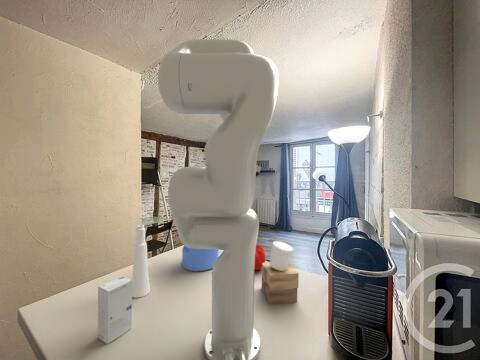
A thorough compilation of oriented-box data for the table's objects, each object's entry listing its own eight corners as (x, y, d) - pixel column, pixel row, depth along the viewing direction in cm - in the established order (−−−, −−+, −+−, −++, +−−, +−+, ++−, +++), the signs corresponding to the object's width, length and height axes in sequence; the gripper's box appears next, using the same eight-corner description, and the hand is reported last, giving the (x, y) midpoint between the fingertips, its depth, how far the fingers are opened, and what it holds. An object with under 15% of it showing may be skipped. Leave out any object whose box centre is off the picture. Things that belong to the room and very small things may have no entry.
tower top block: (298, 287, 62) (298, 273, 62) (270, 290, 61) (270, 275, 61) (286, 273, 71) (286, 261, 71) (261, 275, 70) (261, 262, 70)
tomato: (249, 276, 78) (249, 253, 78) (235, 264, 88) (235, 243, 88) (271, 271, 83) (272, 249, 82) (256, 260, 93) (256, 240, 93)
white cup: (292, 271, 64) (298, 251, 64) (274, 272, 62) (280, 250, 61) (280, 259, 71) (285, 241, 70) (263, 259, 68) (268, 240, 67)
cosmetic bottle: (144, 285, 71) (144, 222, 70) (154, 291, 67) (154, 225, 67) (126, 293, 66) (126, 225, 65) (136, 300, 62) (136, 228, 62)
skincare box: (107, 345, 46) (107, 292, 46) (96, 337, 48) (96, 286, 48) (133, 327, 51) (133, 279, 51) (122, 321, 53) (122, 275, 53)
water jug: (221, 257, 96) (222, 198, 95) (214, 273, 80) (214, 202, 80) (189, 255, 97) (189, 197, 97) (175, 271, 82) (176, 201, 81)
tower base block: (297, 302, 62) (297, 288, 62) (268, 304, 61) (268, 290, 61) (286, 286, 71) (286, 274, 71) (261, 288, 70) (261, 275, 70)
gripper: (213, 140, 69) (213, 190, 69) (263, 141, 71) (263, 190, 71) (213, 143, 76) (213, 189, 77) (259, 144, 78) (258, 189, 79)
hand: (237, 189), depth 74 cm, fingers open, 9 cm apart
